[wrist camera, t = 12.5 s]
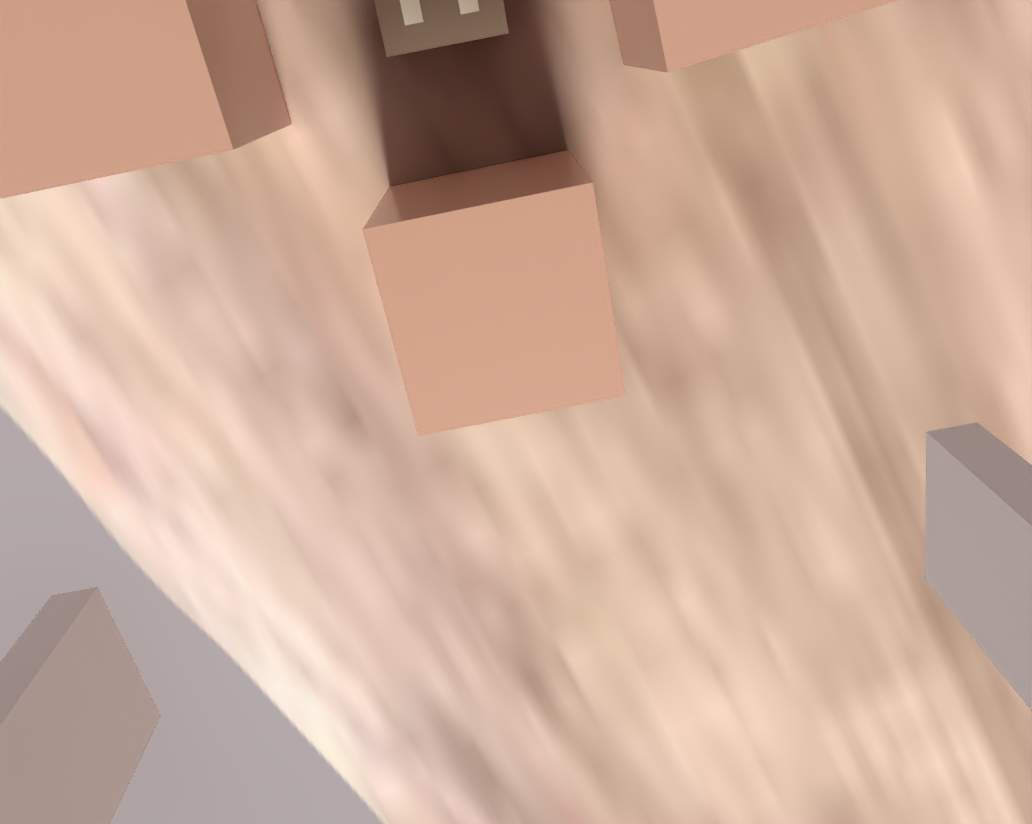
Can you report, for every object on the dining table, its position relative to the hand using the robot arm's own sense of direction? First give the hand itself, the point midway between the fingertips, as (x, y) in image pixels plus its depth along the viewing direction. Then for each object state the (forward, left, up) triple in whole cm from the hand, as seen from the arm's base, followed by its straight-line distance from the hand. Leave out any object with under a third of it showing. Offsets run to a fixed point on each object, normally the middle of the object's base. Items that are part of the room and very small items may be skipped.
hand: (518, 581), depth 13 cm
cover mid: (0, 0, -22) cm, 22 cm away
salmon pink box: (-10, -10, -22) cm, 26 cm away
